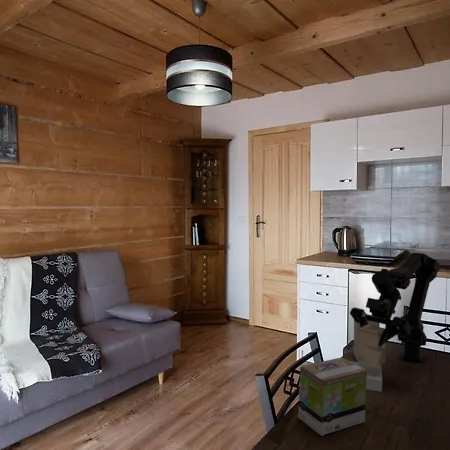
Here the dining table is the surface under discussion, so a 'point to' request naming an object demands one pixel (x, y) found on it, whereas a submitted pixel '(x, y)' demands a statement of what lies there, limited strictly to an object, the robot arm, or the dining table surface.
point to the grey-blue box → (372, 376)
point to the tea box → (332, 395)
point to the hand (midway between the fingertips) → (369, 342)
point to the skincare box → (356, 336)
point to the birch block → (371, 346)
